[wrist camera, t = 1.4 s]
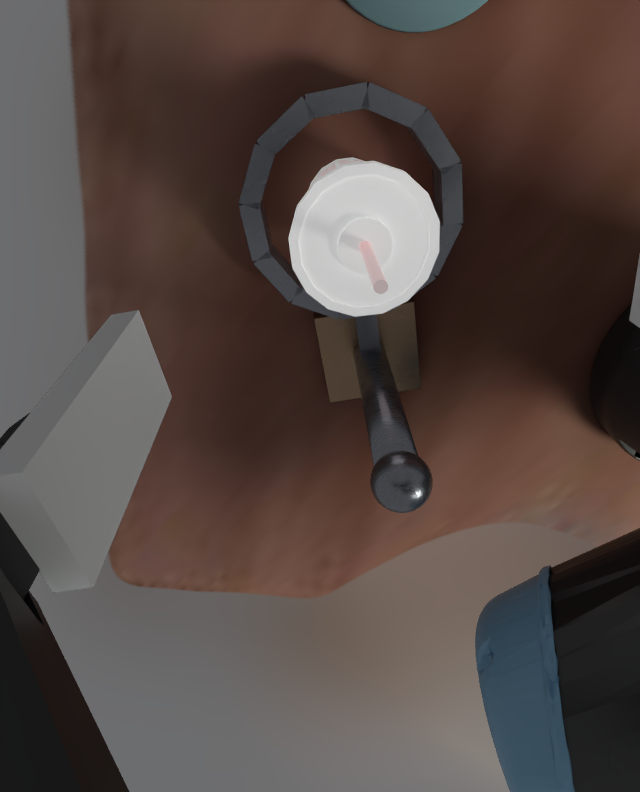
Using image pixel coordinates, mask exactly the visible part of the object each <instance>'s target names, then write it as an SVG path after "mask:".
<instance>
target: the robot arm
mask: <svg viewBox="0 0 640 792" xmlns="http://www.w3.org/2000/svg"><path fill="white" fill-rule="evenodd" d="M590 394H591V402H592V406H593V410H594V413H595V415H596V417H597V419H598V421H599V422H600V424H601V425H602V427H603V428H604V429H605V430H606V431H607V433H608V434H609V435H610V436H611V437H612V438H613V439H614V440H615V442H616V443H617V444H618V445H619V446H620V447H621V448H622V449H623V450H624V451H625V452H627V453H628V454H629V455H631V456H632V457H634V458H635V459H637V460H639V461H640V255H639V262H638V268H637V274H636V281H635V287H634V293H633V299H632V305H631V306H630V307H629V308H628V309H627V310H626V311H625V312H624V313H623V314H622V316H621V317H620V318H619V319H618V321H617V322H616V323H615V325H614V326H613V327H612V329H611V330H610V332H609V333H608V335H607V337H606V338H605V340H604V342H603V344H602V346H601V348H600V350H599V353H598V355H597V357H596V360H595V363H594V367H593V371H592V376H591V385H590ZM171 398H172V395H171V393H170V390H169V388H168V385H167V382H166V380H165V377H164V374H163V372H162V369H161V367H160V364H159V361H158V359H157V356H156V354H155V351H154V348H153V346H152V343H151V341H150V338H149V335H148V333H147V330H146V328H145V325H144V322H143V320H142V317H141V315H140V312H139V310H136V311H130V312H125V313H119V314H113V315H111V316H110V317H109V318H108V319H107V320H106V322H105V323H104V324H103V325H102V327H101V328H100V329H99V330H98V331H97V333H96V334H95V335H94V336H93V337H92V339H91V340H90V341H89V342H88V344H87V345H86V346H85V347H84V349H83V350H82V351H81V352H80V353H79V355H78V356H77V357H76V358H75V359H74V361H73V362H72V363H71V364H70V365H69V367H68V368H67V369H66V370H65V371H64V373H63V374H62V375H61V376H60V378H59V379H58V380H57V381H56V382H55V384H54V385H53V386H52V387H51V388H50V390H49V391H48V392H47V393H46V395H45V396H44V397H43V398H42V399H41V401H40V402H39V403H38V404H37V406H36V407H35V408H34V409H33V410H32V412H31V413H29V414H27V415H26V416H25V417H23V418H22V419H21V420H19V421H18V422H17V423H15V424H14V425H13V426H11V427H10V428H9V429H8V430H7V431H6V432H5V433H4V435H3V436H2V437H1V438H0V792H129V790H128V788H127V786H126V784H125V782H124V780H123V778H122V776H121V773H120V772H119V769H118V767H117V765H116V763H115V761H114V759H113V757H112V755H111V753H110V751H109V749H108V747H107V745H106V743H105V741H104V738H103V736H102V734H101V732H100V730H99V728H98V726H97V724H96V722H95V720H94V718H93V716H92V714H91V712H90V710H89V707H88V705H87V703H86V701H85V699H84V697H83V695H82V693H81V691H80V689H79V687H78V685H77V683H76V681H75V679H74V677H73V674H72V672H71V670H70V668H69V666H68V664H67V662H66V660H65V659H64V656H63V654H62V652H61V650H60V648H59V646H58V643H57V641H56V640H55V637H54V635H53V633H52V631H51V629H50V627H49V625H48V623H47V621H46V619H45V617H44V615H43V613H42V610H41V608H40V606H39V604H38V602H37V601H36V600H35V598H34V597H33V596H32V594H31V593H30V591H29V589H30V587H31V585H32V583H33V581H34V580H35V578H36V576H37V574H38V572H39V573H40V574H41V576H42V577H43V578H44V580H45V581H46V583H47V584H48V586H49V587H50V589H51V590H52V591H53V593H57V592H64V591H71V590H78V589H85V588H92V587H94V585H95V583H96V580H97V578H98V575H99V573H100V571H101V568H102V566H103V563H104V561H105V558H106V556H107V554H108V551H109V549H110V546H111V544H112V541H113V539H114V537H115V534H116V532H117V529H118V527H119V525H120V522H121V520H122V517H123V515H124V512H125V510H126V508H127V505H128V503H129V500H130V498H131V495H132V493H133V491H134V488H135V486H136V483H137V481H138V478H139V476H140V474H141V471H142V469H143V466H144V464H145V461H146V459H147V457H148V454H149V452H150V449H151V447H152V444H153V442H154V440H155V437H156V435H157V432H158V430H159V427H160V425H161V423H162V420H163V418H164V415H165V413H166V410H167V408H168V406H169V403H170V401H171ZM475 649H476V662H477V670H478V675H479V683H480V688H481V693H482V698H483V703H484V708H485V712H486V716H487V720H488V724H489V727H490V731H491V735H492V738H493V742H494V745H495V748H496V751H497V755H498V758H499V762H500V764H501V767H502V770H503V773H504V776H505V779H506V782H507V785H508V787H509V790H510V792H640V528H639V529H637V530H634V531H632V532H630V533H628V534H625V535H623V536H621V537H619V538H617V539H614V540H612V541H610V542H608V543H605V544H603V545H601V546H599V547H597V548H594V549H592V550H590V551H588V552H586V553H583V554H581V555H579V556H577V557H574V558H572V559H570V560H568V561H566V562H564V563H561V564H559V565H557V566H555V567H551V566H546V567H543V568H542V569H541V570H540V572H539V574H538V575H537V576H534V577H533V578H531V579H529V580H527V581H525V582H523V583H521V584H519V585H517V586H515V587H513V588H511V589H509V590H507V591H505V592H503V593H501V594H499V595H497V596H496V597H495V598H493V599H492V600H491V601H489V602H488V603H487V605H486V606H485V607H484V609H483V610H482V612H481V614H480V617H479V620H478V623H477V628H476V637H475Z"/></svg>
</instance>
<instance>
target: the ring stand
mask: <svg viewBox="0 0 640 792" xmlns="http://www.w3.org/2000/svg"><path fill="white" fill-rule="evenodd" d="M305 99H306V100H305ZM305 99H304V98H303V96H301V97H300V98H299V99H298V100H297V101H296V102H295V103H294V104H293V105H292V106H291V107H290V108H289V109H288V110H287V111H286V112H285V113H284V114H283V115H282V116H281V117H280V118H279V119H278V120H277V121H276V122H275V123H274V124H273V125H272V126H271V127H270V128H268V129H267V130H266V131H265V132H264V133H263V134H262V135H261V136H260V137H259V138H258V139H257V142H256V143H255V145H254V148H253V152H252V156H251V159H250V163H249V167H248V170H247V174H246V178H245V181H244V185H243V189H242V192H241V196H240V200H239V203H240V204H239V209H240V213H241V217H242V221H243V226H244V230H245V234H246V238H247V242H248V246H249V250H250V254H251V258H252V261H254V265H255V266H256V267H257V268H258V269H259V270H260V271H261V272H262V273H263V274H264V276H265V277H266V278H267V279H268V280H269V281H270V282H271V283H272V284H273V285H274V286H275V288H276V289H277V290H278V291H279V292H280V293H281V294H282V295H283V296H284V297H285V298H286V300H287V301H288V302H290V301H291V304H294V305H297V306H300V307H303V308H306V309H308V310H311V311H314V312H316V313H314V321H315V326H316V331H317V337H318V342H319V347H320V352H321V357H322V363H323V368H324V373H325V378H326V383H327V389H328V394H329V399H330V403H331V402H338V401H344V400H350V399H356V398H362V403H363V409H364V414H365V420H366V425H367V430H368V436H369V441H370V446H371V452H372V457H373V462H374V467H373V470H372V473H371V478H370V483H371V489H372V492H373V495H374V497H375V498H376V500H377V501H378V502H379V503H380V504H381V505H382V506H383V507H385V508H386V509H388V510H390V511H393V512H397V513H407V512H411V511H414V510H416V509H418V508H419V507H421V506H422V505H423V504H424V503H425V502H426V501H427V499H428V498H429V496H430V493H431V490H432V475H431V472H430V469H429V467H428V466H427V464H426V463H425V462H424V461H423V460H422V459H421V458H420V457H419V456H418V454H417V451H416V448H415V444H414V441H413V438H412V435H411V431H410V428H409V425H408V422H407V419H406V415H405V412H404V409H403V406H402V403H401V399H400V396H399V393H398V392H400V391H406V390H412V389H418V388H421V383H420V370H419V358H418V346H417V334H416V321H415V309H414V301H413V299H412V297H411V298H410V299H409V300H408V301H407V302H405V303H403V304H401V305H399V306H397V307H395V308H393V309H391V310H389V311H387V312H385V313H383V314H375V315H365V316H356V317H354V316H351V315H347V314H343V313H340V312H336V311H332V310H329V309H327V308H326V307H325V306H323V305H322V304H321V303H319V302H318V301H317V300H315V299H314V298H313V297H312V296H310V295H309V294H308V293H306V291H305V289H304V287H303V286H302V284H301V282H300V281H299V279H298V277H297V275H296V274H295V272H294V270H293V268H292V266H291V265H290V264H289V263H288V262H287V260H286V259H285V258H284V257H283V256H282V255H281V254H280V252H279V251H278V250H277V249H276V248H275V247H274V246H273V244H272V241H271V237H270V232H269V227H268V223H267V218H266V214H265V209H264V205H263V200H262V198H263V194H264V191H265V187H266V184H267V181H268V177H269V174H270V170H271V167H272V163H273V160H274V157H275V154H276V153H277V152H279V151H280V150H281V149H282V148H283V147H284V146H285V145H286V144H287V143H288V142H289V141H290V140H291V139H292V138H293V137H294V136H295V135H296V134H297V133H298V132H299V131H301V130H302V129H303V128H304V127H305V126H306V125H307V124H308V123H309V122H310V121H311V120H312V119H313V118H318V117H323V116H328V115H333V114H339V113H344V112H349V111H354V110H359V109H364V108H365V109H367V110H369V111H372V112H374V113H376V114H379V115H381V116H383V117H386V118H388V119H390V120H393V121H395V122H397V123H400V124H402V125H404V126H406V127H407V129H408V130H409V132H410V134H411V135H412V137H413V138H414V140H415V141H416V143H417V144H418V146H419V147H420V149H421V150H422V152H423V153H424V155H425V156H426V158H427V159H428V161H429V162H430V164H431V165H432V172H433V190H434V209H435V211H436V214H437V216H438V218H439V221H440V238H439V254H438V256H437V259H436V261H435V263H434V266H433V268H432V271H431V273H430V275H429V278H428V280H427V281H426V282H425V283H424V284H423V285H422V286H421V287H420V288H419V290H418V291H420V290H421V289H422V288H424V287H425V286H426V285H428V284H429V283H430V282H432V281H433V280H434V279H436V278H435V276H434V275H436V276H438V275H439V273H440V271H441V269H442V267H443V264H444V262H445V260H446V258H447V256H448V254H449V252H450V250H451V248H452V246H453V244H454V242H455V240H456V238H457V236H458V234H459V232H460V230H461V228H462V225H461V224H460V223H463V192H462V163H459V162H460V161H461V160H460V158H459V157H458V155H457V154H456V152H455V150H454V149H453V147H452V146H451V144H450V142H449V141H448V139H447V138H446V136H445V135H444V133H443V131H442V130H441V128H440V127H439V125H438V123H437V122H436V120H435V119H434V117H433V115H432V114H431V112H430V111H429V109H426V107H425V106H423V105H420V104H418V103H416V102H413V101H411V100H409V99H407V98H404V97H402V96H400V95H398V94H395V93H393V92H391V91H389V90H386V89H384V88H382V87H379V86H377V85H375V84H373V83H370V82H368V83H367V82H362V83H357V84H352V85H347V86H342V87H337V88H332V89H327V90H322V91H317V92H312V93H308V94H305ZM418 291H417V292H418ZM417 292H416V293H417ZM416 293H415V294H416ZM415 294H414V295H415Z"/></svg>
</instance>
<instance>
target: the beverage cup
mask: <svg viewBox="0 0 640 792" xmlns="http://www.w3.org/2000/svg"><path fill="white" fill-rule="evenodd" d="M439 238H440V221H439V218H438V216H437V214H436V211H435V209H434V206H433V204H432V201H431V199H430V196H429V194H428V193H427V192H426V191H425V190H424V189H423V188H422V187H421V186H420V185H419V184H418V183H417V182H416V181H415V180H414V179H413V178H412V177H411V176H409V175H408V174H407V173H406V172H405V171H403V170H400V169H397V168H394V167H391V166H388V165H385V164H382V163H379V162H376V161H363V160H360V159H357V158H354V157H353V158H344V159H336V160H335V161H333V162H331V163H330V164H328V165H326V166H324V167H323V168H321V170H320V171H319V172H318V174H317V175H316V176H315V178H314V179H313V180H312V182H311V184H310V187H309V190H308V191H307V192H306V194H305V195H304V196H303V198H302V199H301V200H300V202H299V203H298V204H297V207H296V210H295V214H294V218H293V222H292V226H291V230H290V233H289V238H288V240H289V247H290V255H291V262H292V268H293V270H294V272H295V274H296V275H297V277H298V279H299V281H300V282H301V284H302V286H303V287H304V289H305V291H306V293H308V294H309V295H310V296H312V297H313V298H314V299H315V300H317V301H318V302H319V303H321V304H322V305H323V306H325V307H326V308H327V309H329V310H332V311H336V312H340V313H343V314H347V315H351V316H354V317H356V316H365V315H375V314H383V313H385V312H387V311H389V310H391V309H393V308H395V307H397V306H399V305H401V304H403V303H405V302H407V301H408V300H409V299H410V298H411V297H412V296H413V295H414V294H415V293H416V292H417V291H418V290H419V288H420V287H421V286H422V285H423V284H424V283H425V282H426V281H427V280H428V278H429V275H430V273H431V271H432V268H433V266H434V263H435V261H436V259H437V256H438V254H439Z"/></svg>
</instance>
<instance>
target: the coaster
mask: <svg viewBox="0 0 640 792" xmlns="http://www.w3.org/2000/svg"><path fill="white" fill-rule="evenodd" d="M487 1H488V0H346V2H347V3H348V4H349V5H350V6H351V7H352V8H353V9H354V10H356V11H357V12H358V13H360V14H361V15H362V16H363V17H365V18H366V19H368V20H370V21H372V22H373V23H375V24H377V25H379V26H382V27H385V28H387V29H390V30H395V31H400V32H410V33H419V32H427V31H433V30H436V29H440V28H443V27H446V26H448V25H451V24H453V23H455V22H457V21H459V20H462V19H463V18H465V17H466V16H468V15H470V14H471V13H473V12H474V11H476V10H477V9H478V8H479V7H481V6H482V5H483V4H484V3H486V2H487Z"/></svg>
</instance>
